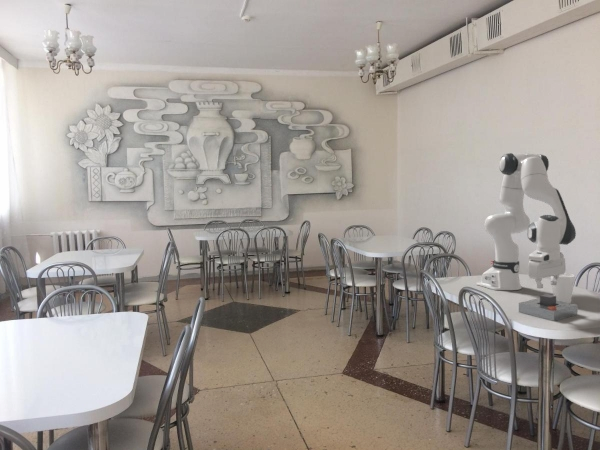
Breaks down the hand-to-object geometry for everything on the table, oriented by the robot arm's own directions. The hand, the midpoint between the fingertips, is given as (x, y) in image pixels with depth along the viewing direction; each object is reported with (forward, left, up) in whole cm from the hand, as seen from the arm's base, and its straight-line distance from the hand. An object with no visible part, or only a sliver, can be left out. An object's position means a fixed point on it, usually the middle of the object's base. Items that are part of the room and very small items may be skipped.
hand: (546, 286), depth 203 cm
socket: (0, 0, -11) cm, 11 cm away
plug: (0, 0, -11) cm, 11 cm away
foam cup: (-6, +20, -12) cm, 24 cm away
